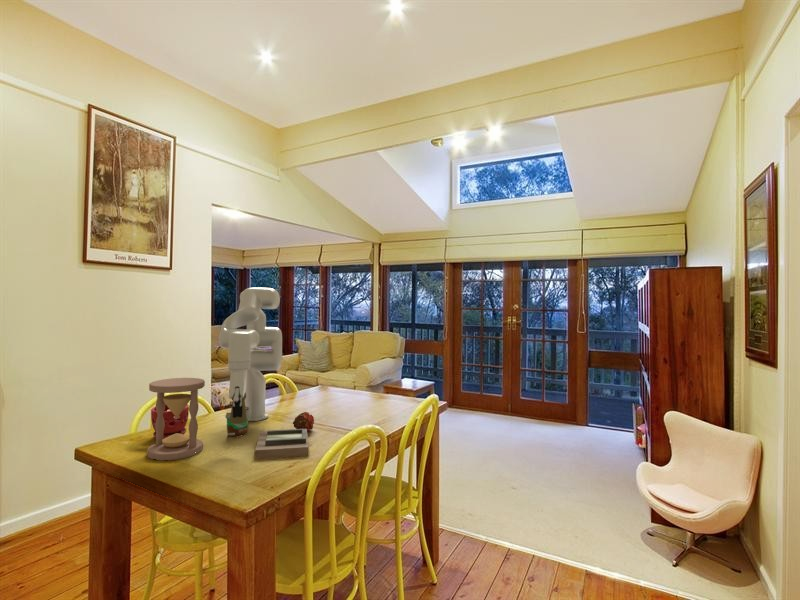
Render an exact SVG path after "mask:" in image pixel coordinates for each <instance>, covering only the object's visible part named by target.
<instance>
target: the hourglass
mask: <svg viewBox="0 0 800 600" xmlns="http://www.w3.org/2000/svg"><path fill="white" fill-rule="evenodd" d="M205 386H206V384H205V380H204V378H199V377H196V378H195V377H176V378H175V377H173V378H164V379H159V380H154V381H151V382H150V383H149V384H148V389H149V391H150V392H153V393H156V402H155V406H156V411H157V415H158V417H157V420H156V423H155V429H156V438H155V443H154V444H151V445H150V446H149V447H148V448H147V453H146V454H147V458H149V459H150V458H151V460H153V459H156V460H155V461H164V460H168V461H174V460H175V461H176V460H182V459H186V458H190V457H193V456H195V455H197V454H199V453H200V452H202V450H203V449H204V442H203V440H201V439H198V438H197V434H198V429H199V424H198V420H197V415H198V411H199V399H198V398H199V397H198V396H199V390H200V389H203V388H204V387H205ZM186 392H190V393H186ZM165 394H167V395H165ZM165 404H166V405H167V406H168V408H169V409H170V410H171V411H172V413H173V414H174V415H175V417H174V419H179V418H180V416H179V415H180V413H181V412H182V411H183V409H184V408H185V407H186V405H187V404H188V406H189V415H190V420H189V424H188V433H189V435H188V434H187V435H186V434H184V435H183V434H179V433H175V434H173V435H171V436H169V437H166V438H164V439H163V431H164V427H165V422H164V419H163V412H164V409H165ZM170 410H169V411H170ZM195 452H196V453H195Z"/></svg>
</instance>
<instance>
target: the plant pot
mask: <svg viewBox="0 0 800 600" xmlns="http://www.w3.org/2000/svg"><path fill="white" fill-rule="evenodd" d="M189 415H190V411H189V403H188V404H187V405H186V407H185V408H184V409H183V411H182V412H181V413H180V415H179V416H180V418H179V419H174V417H175V415H174V414H173V413H172V411H171V410H170V409H169V408H168V406H167V405H166V404H165V409H164V412H163V419H164V422H165V427H164V431H163V439H164V438H166V437H169V436H171V435H173V434H175V433H179V434H183V435H186V432H187V428H186V426H187V424H188V420H189ZM157 417H158V415H157V411H156V405H155V406H153V407H152V408H151V409H150V420H151V425H152V429H153V430H154V432H153V434H152V435H153V437H154V438H155V439H156V429H155V423H156V420H157Z"/></svg>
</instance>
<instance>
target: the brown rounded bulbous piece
mask: <svg viewBox="0 0 800 600" xmlns="http://www.w3.org/2000/svg"><path fill="white" fill-rule="evenodd" d="M240 395H241V394H240ZM239 398H241V396H239ZM245 399H246V393H245V394H244V397H243V398H242V406H243V408H242V417H236V418H233V401H234V396H233V397H232V398H231V399H230V400H231V401H232V403H231V410H230V413H231V415H230V421H229V422H230V423H232V424H240V423H244V422H246V421H247V416H246V407H245ZM239 400H240V399H239Z"/></svg>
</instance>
